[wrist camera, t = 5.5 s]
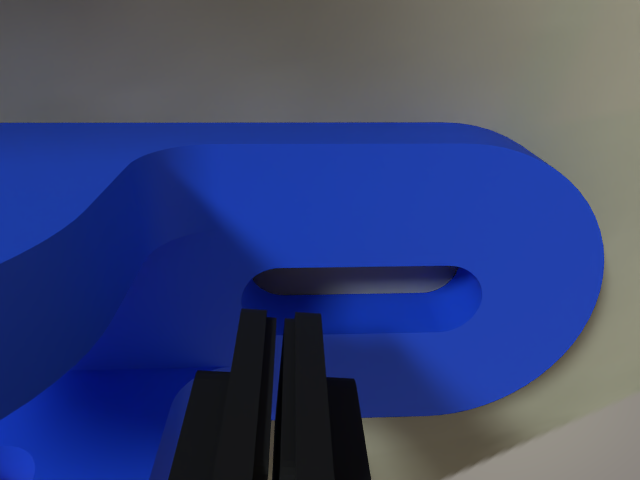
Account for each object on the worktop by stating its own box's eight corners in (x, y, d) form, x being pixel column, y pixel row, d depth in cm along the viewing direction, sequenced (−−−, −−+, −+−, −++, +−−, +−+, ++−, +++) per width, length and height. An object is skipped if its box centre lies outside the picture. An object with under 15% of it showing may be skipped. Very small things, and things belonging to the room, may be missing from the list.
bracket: (-14, 377, 16) (-329, 776, 8) (-116, 121, 12) (-933, 385, 4) (531, 365, 17) (750, 714, 9) (597, 120, 13) (1099, 340, 5)
